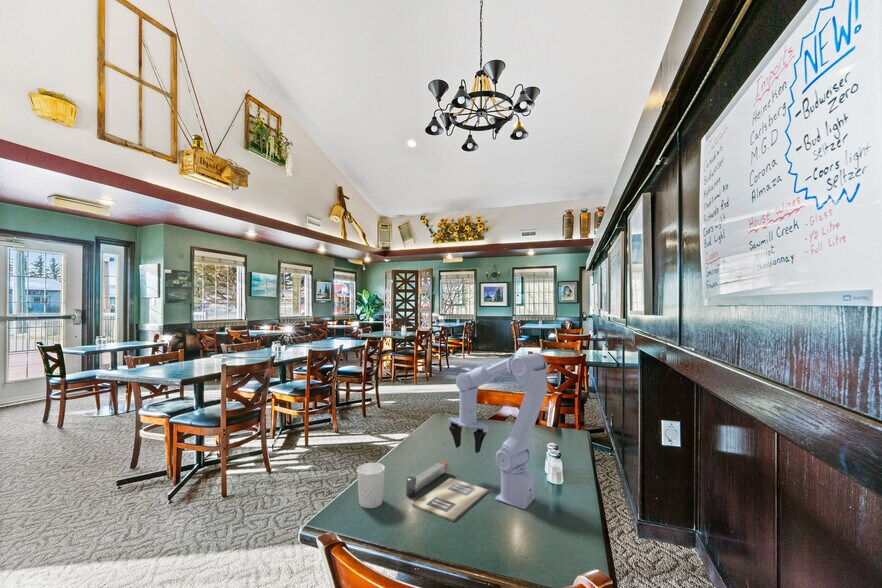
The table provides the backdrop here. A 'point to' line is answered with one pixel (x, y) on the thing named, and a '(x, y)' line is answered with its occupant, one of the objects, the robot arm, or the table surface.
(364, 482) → the white cup
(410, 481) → the light grey long piece
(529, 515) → the table surface
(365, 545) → the table surface
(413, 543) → the table surface
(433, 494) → the label board
